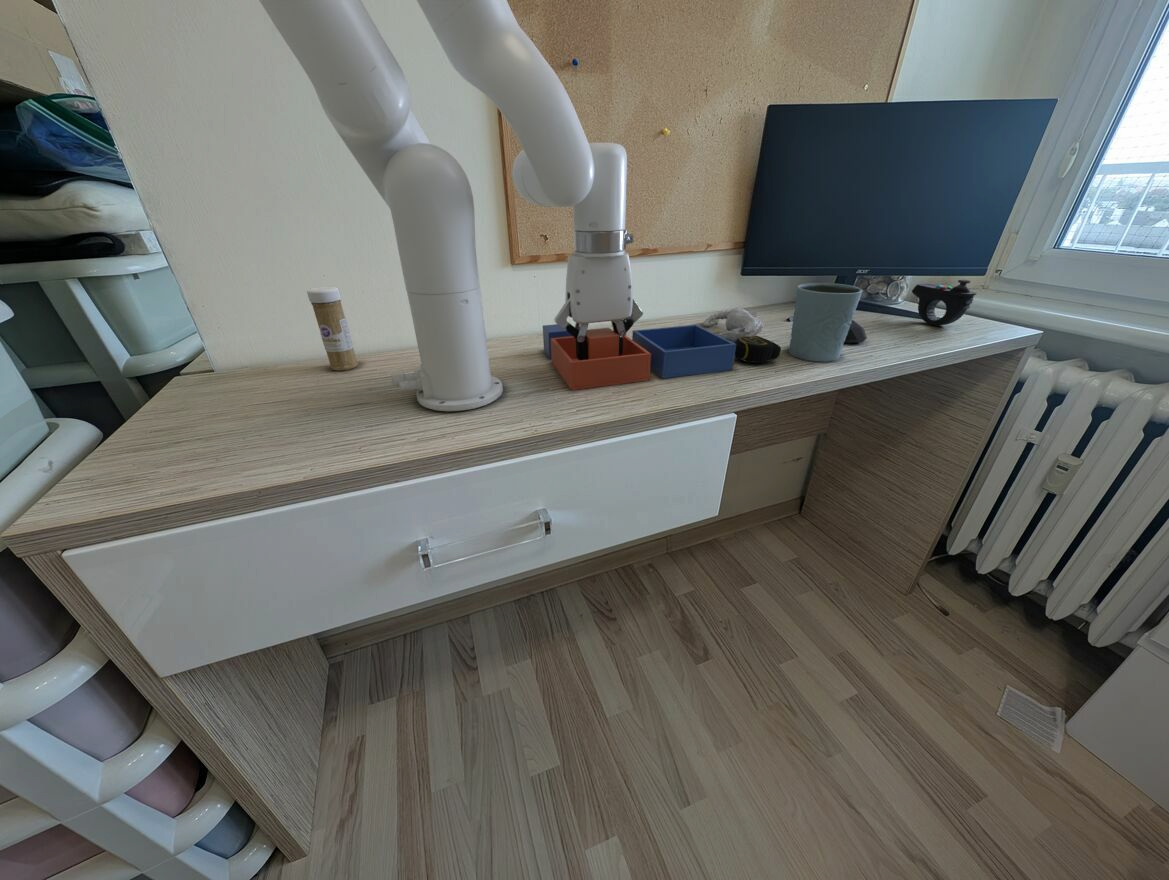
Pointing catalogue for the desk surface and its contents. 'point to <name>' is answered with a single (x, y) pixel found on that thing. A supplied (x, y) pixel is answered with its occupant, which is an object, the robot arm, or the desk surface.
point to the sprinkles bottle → (333, 327)
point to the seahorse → (736, 323)
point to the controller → (952, 297)
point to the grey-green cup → (822, 320)
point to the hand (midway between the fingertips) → (599, 359)
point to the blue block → (552, 336)
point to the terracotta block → (602, 343)
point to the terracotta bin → (600, 365)
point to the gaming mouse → (855, 333)
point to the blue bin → (685, 350)
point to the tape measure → (756, 349)
